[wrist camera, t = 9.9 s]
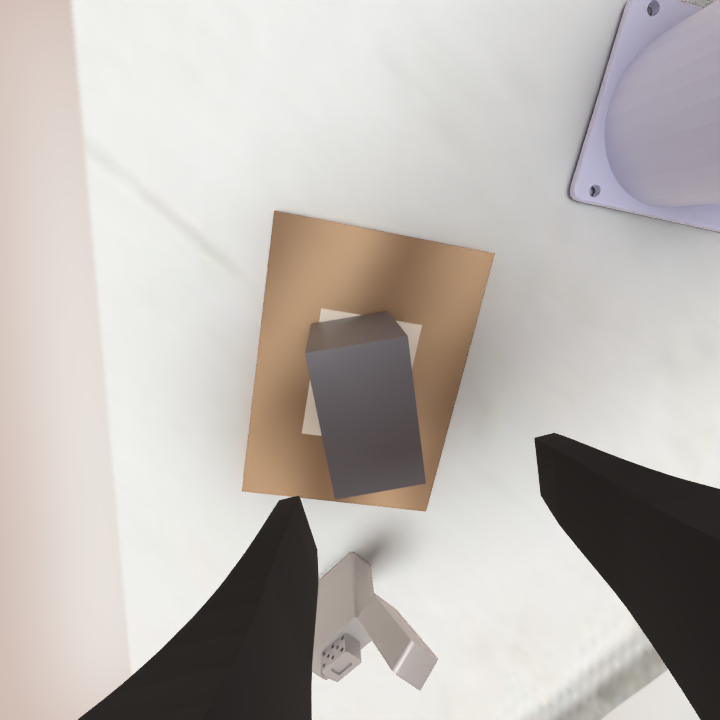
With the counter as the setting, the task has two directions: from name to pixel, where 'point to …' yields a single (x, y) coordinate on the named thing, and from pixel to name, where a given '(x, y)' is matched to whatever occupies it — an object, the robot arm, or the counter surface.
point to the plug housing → (365, 404)
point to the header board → (348, 299)
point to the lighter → (363, 627)
